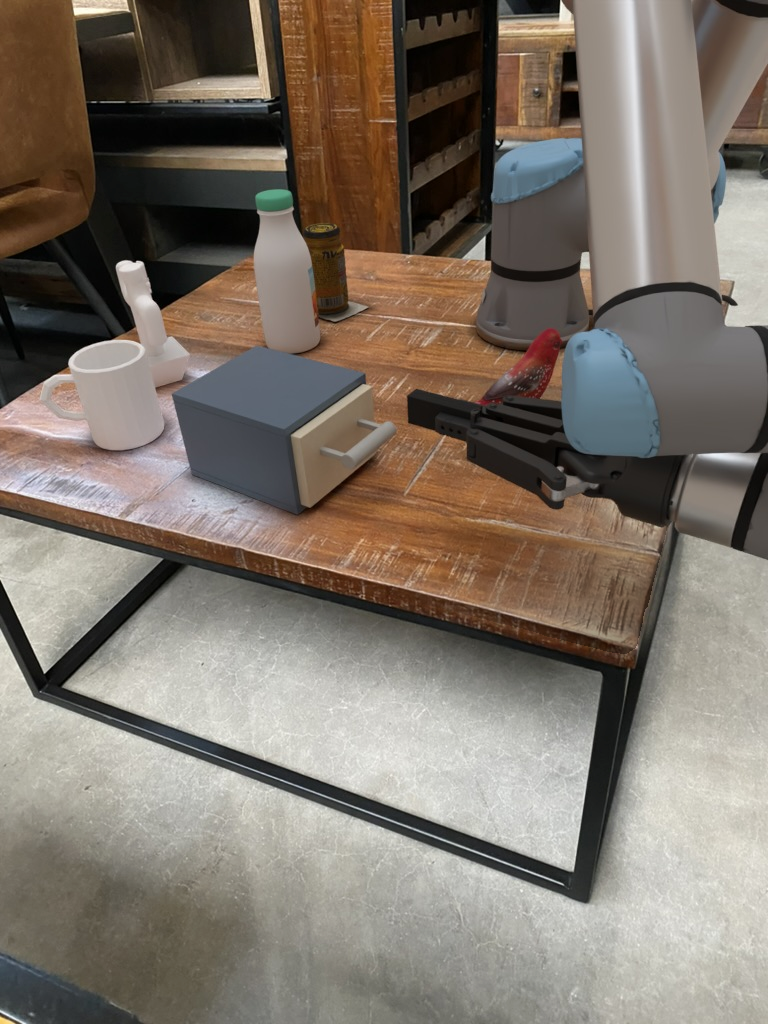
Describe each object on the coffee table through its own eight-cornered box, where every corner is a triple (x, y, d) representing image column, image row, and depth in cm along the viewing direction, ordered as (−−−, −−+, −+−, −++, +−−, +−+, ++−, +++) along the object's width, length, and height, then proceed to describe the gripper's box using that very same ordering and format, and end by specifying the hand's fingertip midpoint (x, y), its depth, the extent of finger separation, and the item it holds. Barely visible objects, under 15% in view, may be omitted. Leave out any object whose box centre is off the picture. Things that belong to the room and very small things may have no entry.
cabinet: (371, 454, 82) (365, 372, 77) (297, 515, 74) (284, 429, 69) (269, 422, 89) (256, 345, 84) (191, 474, 81) (171, 393, 76)
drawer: (411, 463, 79) (408, 395, 74) (345, 521, 71) (337, 450, 67) (280, 422, 87) (270, 359, 83) (209, 470, 80) (193, 404, 75)
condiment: (330, 296, 121) (322, 217, 114) (369, 308, 116) (363, 226, 109) (296, 311, 117) (285, 230, 110) (334, 324, 112) (326, 240, 105)
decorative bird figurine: (567, 407, 88) (575, 325, 82) (459, 469, 79) (460, 382, 73) (547, 399, 90) (553, 318, 84) (440, 459, 81) (438, 372, 75)
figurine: (144, 400, 96) (111, 282, 87) (123, 373, 102) (91, 261, 94) (199, 383, 99) (173, 268, 90) (175, 358, 105) (149, 248, 96)
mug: (53, 438, 89) (24, 360, 83) (154, 409, 94) (133, 333, 88) (66, 469, 83) (36, 388, 78) (173, 437, 88) (152, 357, 82)
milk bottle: (312, 356, 103) (293, 201, 91) (258, 354, 105) (232, 201, 93) (327, 333, 109) (311, 184, 97) (275, 331, 111) (254, 185, 99)
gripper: (648, 571, 54) (372, 478, 65) (702, 479, 62) (450, 410, 73) (665, 483, 49) (366, 399, 61) (721, 396, 58) (449, 337, 69)
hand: (412, 406), depth 67 cm, fingers closed
